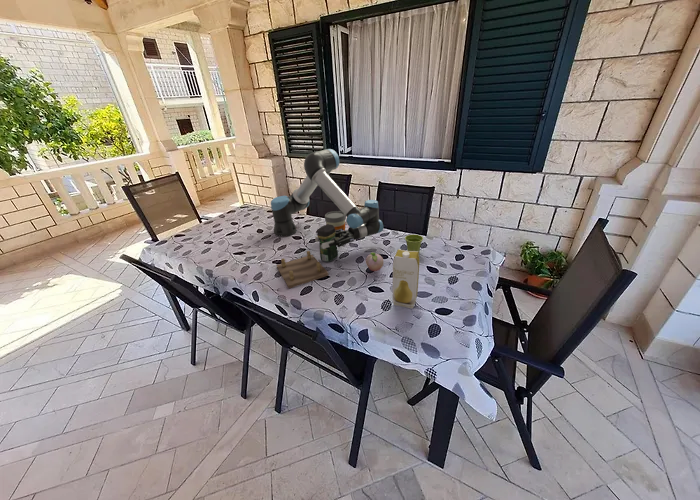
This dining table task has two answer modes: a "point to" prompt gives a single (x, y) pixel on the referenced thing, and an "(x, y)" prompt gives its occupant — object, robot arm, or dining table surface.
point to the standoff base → (301, 270)
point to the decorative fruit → (374, 261)
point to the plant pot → (413, 242)
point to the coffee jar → (326, 235)
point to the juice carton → (405, 278)
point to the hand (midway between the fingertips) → (318, 242)
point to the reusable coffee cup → (336, 220)
